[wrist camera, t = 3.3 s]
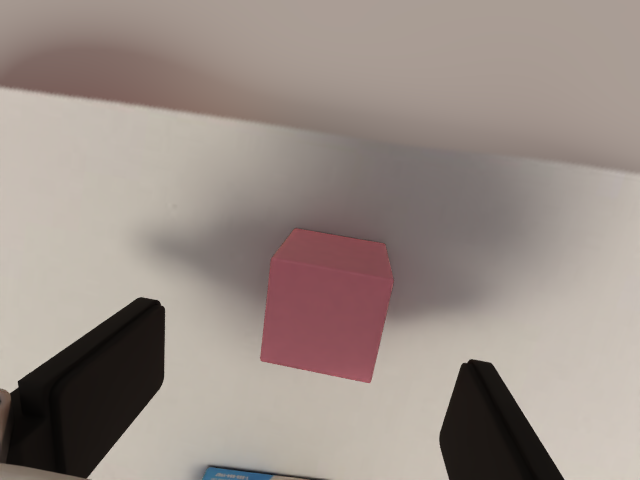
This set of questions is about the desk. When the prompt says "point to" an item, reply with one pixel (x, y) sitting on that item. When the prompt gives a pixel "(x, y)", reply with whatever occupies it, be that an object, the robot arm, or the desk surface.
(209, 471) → the ink box
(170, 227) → the desk surface
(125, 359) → the robot arm
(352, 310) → the block
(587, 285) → the desk surface
